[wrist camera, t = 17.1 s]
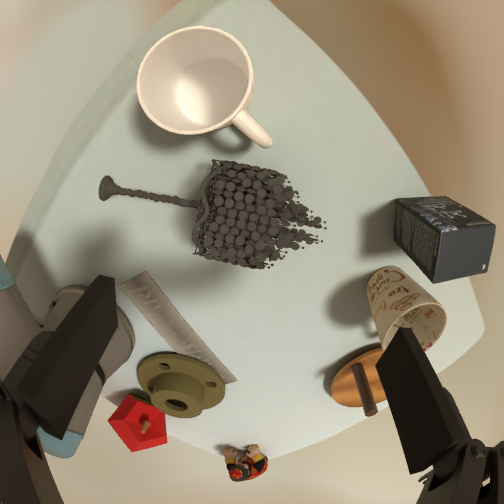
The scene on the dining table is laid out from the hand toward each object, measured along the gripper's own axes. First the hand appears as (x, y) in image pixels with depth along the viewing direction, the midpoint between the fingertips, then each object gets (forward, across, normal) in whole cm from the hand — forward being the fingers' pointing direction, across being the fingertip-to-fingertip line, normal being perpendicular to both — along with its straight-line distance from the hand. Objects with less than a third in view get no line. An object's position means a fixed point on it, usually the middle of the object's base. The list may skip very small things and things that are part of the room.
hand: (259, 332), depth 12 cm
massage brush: (+12, -5, -3) cm, 13 cm away
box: (+21, +20, +2) cm, 29 cm away
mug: (+21, +20, -9) cm, 31 cm away
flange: (+18, +1, -29) cm, 34 cm away
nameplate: (+21, -4, -21) cm, 30 cm away
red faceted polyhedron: (+18, -16, -50) cm, 56 cm away
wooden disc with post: (+19, +25, -25) cm, 40 cm away
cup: (+21, -5, +10) cm, 24 cm away
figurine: (+20, +13, -63) cm, 67 cm away
